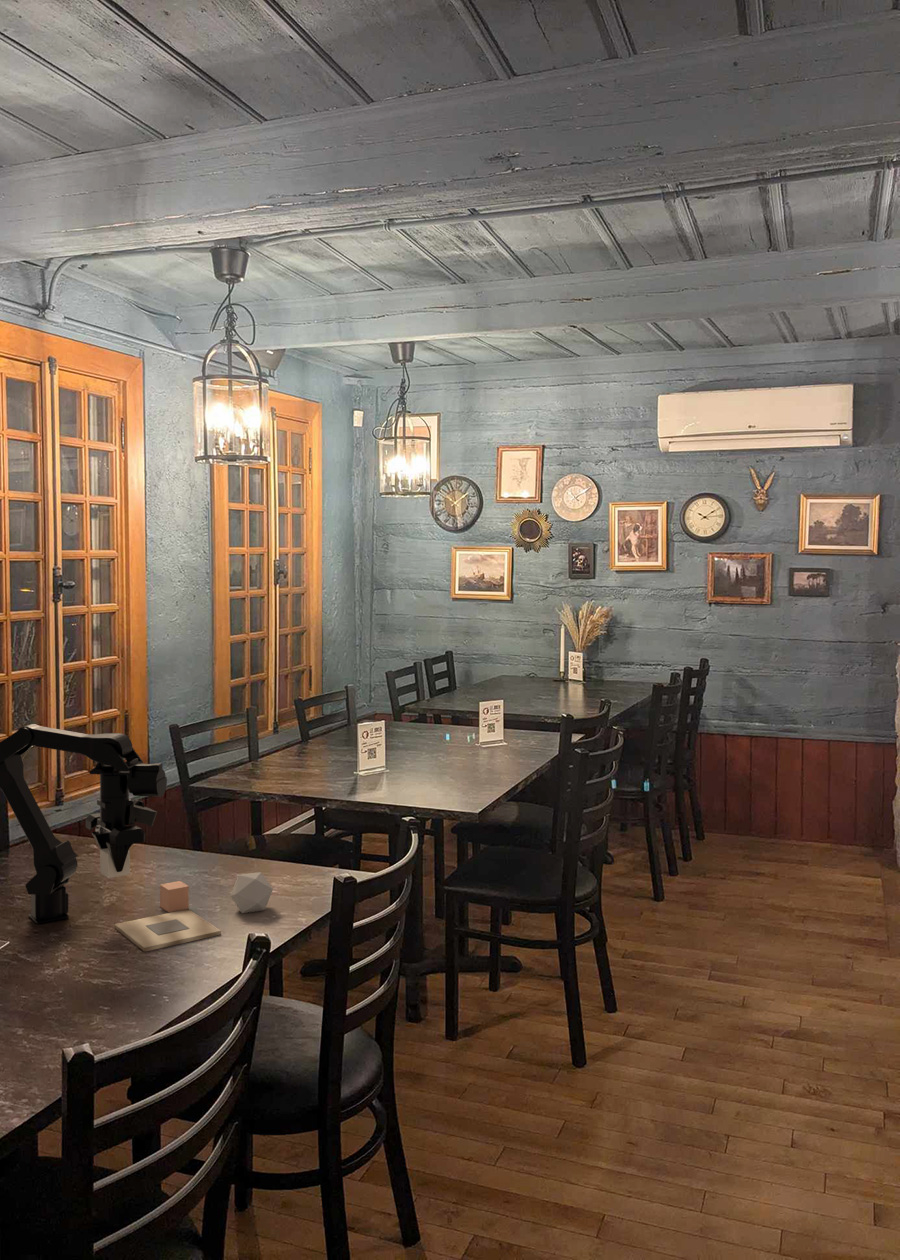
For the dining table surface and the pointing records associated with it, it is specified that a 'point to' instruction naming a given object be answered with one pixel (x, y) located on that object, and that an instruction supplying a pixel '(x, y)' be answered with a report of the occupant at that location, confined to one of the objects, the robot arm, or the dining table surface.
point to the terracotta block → (174, 896)
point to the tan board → (167, 930)
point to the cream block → (112, 865)
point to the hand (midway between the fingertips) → (115, 868)
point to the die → (251, 892)
